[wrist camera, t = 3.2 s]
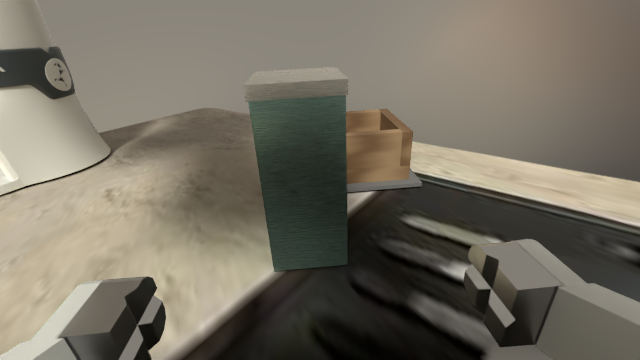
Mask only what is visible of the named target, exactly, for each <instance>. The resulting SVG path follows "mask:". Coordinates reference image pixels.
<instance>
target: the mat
mask: <svg viewBox="0 0 640 360" xmlns="http://www.w3.org/2000/svg"><path fill="white" fill-rule="evenodd" d="M419 186H422V182H421V181H420V180H419V178H418V177H417V176H416V175H415V174H414V173H413V171H412V170H411V169H410V170H409V179H402V180H390V181H377V182H365V183H352V184H347V192H357V191H369V190H382V189H394V188H406V187H419Z"/></svg>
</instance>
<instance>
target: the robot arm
mask: <svg viewBox="0 0 640 360" xmlns="http://www.w3.org/2000/svg"><path fill="white" fill-rule="evenodd" d="M47 46H54V43H53V41H52V38H51V36H50V33H49V31H48V28H47V26H46V23H45V21H44V18H43V16H42V13H41V11H40V8H39V6H38V4H37V1H36V0H0V49H1V50H0V195H2V194H5V193H8V192H11V191H13V190H16V189H19V188H22V187H24V186H28V185H31V184H35V183H39V182H43V181H47V180H50V179H54V178H58V177H61V176H64V175H67V174H70V173H73V172H76V171H79V170H81V169H84V168H86V167H89V166H91V165H93V164H95V163H97V162H99V161H101V160H102V159H104V158H105V157H106V156H108V155H109V153H110V152H111V149H110V148H109V146H108V145H107V144H106V143H105V142H104V140H103V139H102V138H101V136H100V135H99V133H98V132H97V130H96V129H95V127H94V126H93V124H92V123H91V121H90V120H89V118H88V116H87V114H86V112H85V111H84V109H83V107H82V105H81V103H80V101H79V99H78V97H77V95H76V93H75V89H74V84H73V81H72V77H71V74H70V71H69V69H68V67H67V64H66V62H65V59H64V57H63V55H62V53H61V50H60V48H58V47H47ZM32 47H36V48H32ZM17 48H18V49H17ZM468 259H469V260H470V261H471V263H472V265H471V266H470V267H469V268H468V269H467V270H466V271H465V276H464V286H465V292H466V294H467V296H468V299H469V301H470V302H471V304H472V305H473V307H474V308H475V309H477V310H478V311H480V312H481V313H483V314H485V318H484V324H485V325H486V327H487V328H488V330H489V331H490V333H491V334H492V336H493V337H494V339H495V340H496V342H497V343H498V345H499V346H500V347H510V346H521V345H535V344H536V347H537V348H539V349H540V350H541V351H543V352H544V353H546V354H547V355H548V356H550V357H551V358H552V359H554V360H640V302H637V301H635V300H632V299H630V298H628V297H625V296H623V295H621V294H618V293H616V292H613V291H611V290H609V289H606V288H604V287H601V286H599V285H597V284H594V283H593V284H587V283H586V282H585V281H583V280H582V279H581V278H580V277H579V276H577V275H576V274H575V273H574V272H573V271H572V270H570V269H569V268H568V267H567V266H565V265H564V264H563V263H562V262H561V261H560V260H558V259H557V258H556V257H555V256H554V255H553V254H551V253H550V252H549V251H548V250H547V249H546V248H544V247H543V246H542V245H541V244H540V243H538V242H537V241H535V240H532V239H525V240H517V241H511V242H502V243H492V244H482V245H473V246H472V247H471V249H470V250H469V255H468ZM156 289H157V287H156V285H155V282H154V280H153V278H150V277H134V278H120V279H107V280H98V281H86V282H84V283H82V284H80V285H78V286H77V287H76V288H75V290H74V291H73V292H72V293H71V294H70V295H69V297H68V298H67V299H66V300H65V301H64V302H63V303H62V305H61V306H60V307H59V308H58V309H57V310H56V312H55V313H54V314H53V315H52V316H51V317H50V318H49V320H48V321H47V322H46V323H45V324H44V325H43V327H42V328H41V329H40V330H39V331H38V332H37V333H36V335H35V336H34V337H33V338H32V339H31V340H30V341H29V342H22V343H20V344H18V345H17V346H15V347H14V348H12V349H10V350H9V351H7V352H6V353H4V354H3V355H1V356H0V360H151V359H152V358H151V355H150V352H149V350H150V349H151V348H152V347H153V346H154V345H155V344H157V343H158V342H159V341H160V338H161V336H162V333H163V331H164V326H165V320H166V314H165V308H164V305H163V302H162V301H161V300H160V299H158V298H157V297H155V296H154V293H155V291H156Z"/></svg>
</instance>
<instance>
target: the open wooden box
mask: <svg viewBox="0 0 640 360" xmlns="http://www.w3.org/2000/svg"><path fill="white" fill-rule="evenodd" d="M412 137H413V131H412V130H411V129H410V128H408V127H407V126H406V125H405V124H404V123H402V122H401V121H400V120H399V119H398V118H397V117H396V116H394V115H393V114H392V113H391V112H390V111H388V110H387V109H380V110H364V111H349V112H346V157H347V184H352V183H365V182H377V181H390V180H402V179H409V170H410V159H411V148H412Z"/></svg>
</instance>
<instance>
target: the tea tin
mask: <svg viewBox="0 0 640 360" xmlns="http://www.w3.org/2000/svg"><path fill="white" fill-rule="evenodd" d="M244 92H245V98H246V102H247V101H248V103H249V109H250V116H251V122H252V129H253V135H254V142H255V149H256V155H257V162H258V168H259V175H260V181H261V188H262V194H263V201H264V208H265V214H266V221H267V227H268V234H269V240H270V247H271V253H272V260H273V266H274V271H283V270H294V269H305V268H316V267H326V266H337V265H348V251H347V157H346V95H348V78H347V77H346V76H345V75H343V74H342V73H341V72H340V71H339V70H338V69H337V68H336V67H329V68H313V69H296V70H278V71H263V72H255V73H254V74H253V75H252V76H251V77H250V78H249V80H248V81H247V82H246V83H245V84H244Z"/></svg>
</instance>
